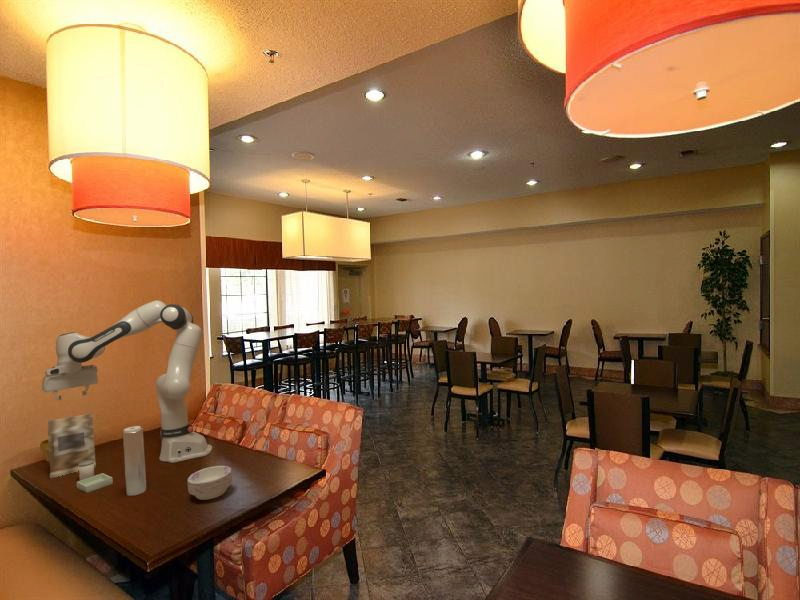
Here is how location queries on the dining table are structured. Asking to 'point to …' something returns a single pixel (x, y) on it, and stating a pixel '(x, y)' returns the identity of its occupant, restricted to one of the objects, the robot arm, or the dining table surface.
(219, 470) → the paper bowls
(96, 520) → the dining table surface
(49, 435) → the plate
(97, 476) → the service tray
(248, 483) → the dining table surface
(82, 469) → the cartridge
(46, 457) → the plant pot
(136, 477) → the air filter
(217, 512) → the dining table surface
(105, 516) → the dining table surface
